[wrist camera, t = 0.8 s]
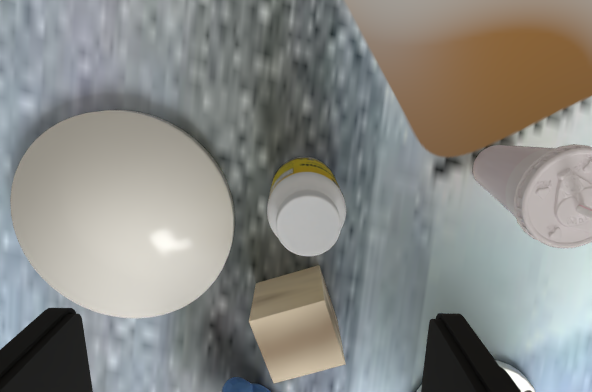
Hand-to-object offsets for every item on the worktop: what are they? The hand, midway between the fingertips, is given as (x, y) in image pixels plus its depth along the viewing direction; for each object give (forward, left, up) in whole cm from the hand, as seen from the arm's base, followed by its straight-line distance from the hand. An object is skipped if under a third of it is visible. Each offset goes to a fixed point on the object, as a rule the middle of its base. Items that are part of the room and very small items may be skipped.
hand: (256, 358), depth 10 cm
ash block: (-12, -1, -23) cm, 26 cm away
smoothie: (0, -18, -23) cm, 29 cm away
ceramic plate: (-3, +13, -23) cm, 27 cm away
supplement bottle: (-1, -2, -23) cm, 23 cm away
